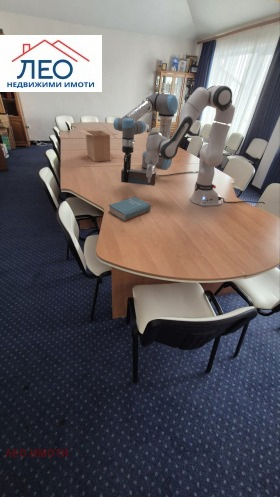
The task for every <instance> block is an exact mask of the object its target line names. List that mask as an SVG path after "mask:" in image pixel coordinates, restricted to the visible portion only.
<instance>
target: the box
mask: <svg viewBox="0 0 280 497" xmlns="http://www.w3.org/2000/svg"><path fill="white" fill-rule="evenodd" d="M77 131H78V132H79V133H81V134H82V135H85V144H86V156H87V157H88V158H90V160H92V161H93V162H95V163H97V162H108V161H111V136H116V135H118V133H116V132H114V131H112V130H109V129H103V130H101V129H100V128H83V129H77Z"/></svg>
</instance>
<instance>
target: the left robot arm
mask: <svg viewBox="0 0 280 497" xmlns="http://www.w3.org/2000/svg"><path fill="white" fill-rule="evenodd" d="M178 110H179V100H178V96H176V95H175V94H171V93H159V92H158V93H157V92H156V93H153V94H151V95H148V96H147V97H146V98H144V99H143V100H142V101H141V103H140V104H138V105H137V106H136V107H134V108H133V109H132V110H130V111H129V112H127V113H126V114H125V115H123V116H122V117H116V118H114V119H113V128H114V130H116V131H119V132H121V134H122V137H121V145H122V146H121V152H122V153H124V156H123V169H124V172H123V173H124V182H128V169H132V154H133V153H134V150H135V149H134V148H135V147H134V144H135V135H141V134H143V133H145V131H146V128H147V127H146V126H147V125H146V123H145V122H144V121H143V120H141V119H142V118H143V117H145V116H146V115H147V114H150V113H152V112H156V113H158V116H159V118H160V120H159V133H160V134H161V135H162V136H164V137H165V138H168V139H171V131H172V130H171V129H172V119H173V118H174V117H175V114H177V112H178ZM145 155H146V150H145V151H143V152H142V159H141V160H142V161H141V169H140V170H142V171H147V163H146V162H145ZM172 163H173V158H172V159H170V160H166V159H164V158H163V157H162V155H161V154H159V158H158V163H157V164H156V165H155V169H154V172H156V169H157V170H162V171H167V170H169V169H170V167H171V165H172ZM198 172H199V170H198V171H197V173H198ZM186 173H187V174H190V173H192V171H184V172H176V173H170V174H157V173H156V176H157V177H166V176H173V175H180V174H186ZM124 182H123V183H124Z"/></svg>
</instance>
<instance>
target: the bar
mask: <svg viewBox="0 0 280 497" xmlns="http://www.w3.org/2000/svg"><path fill="white" fill-rule="evenodd" d="M123 172H124V168H121V170H120V183H123V184H124V183H125V184H133V185H141V186H143V185H145V186H151V187H155V186H156V181H157V180H156V179H157V175H156V174H157V171H155V172H153V175H152V177H151V182H148V177H146V172H147V171H142V170H141V169H133V168H130V169H128V182H124V173H123Z"/></svg>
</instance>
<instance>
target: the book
mask: <svg viewBox="0 0 280 497" xmlns="http://www.w3.org/2000/svg"><path fill="white" fill-rule="evenodd" d="M151 206H152V205H151V204H150V203H148V202H147V201H144V200H142V199H141V198H138V197H137V196H131V197H128V198H126V199H123V200H119V201H117V202H114V203H110V204H108V207H109V210H108V213H110V214H111V215H113V216H115V217H117V218H118V219H120V220H122V222H125V221H127V220H130V219H132V218H134V217H137V216H141V215H142V214H145V213H147V212H150V211H151Z"/></svg>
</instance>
